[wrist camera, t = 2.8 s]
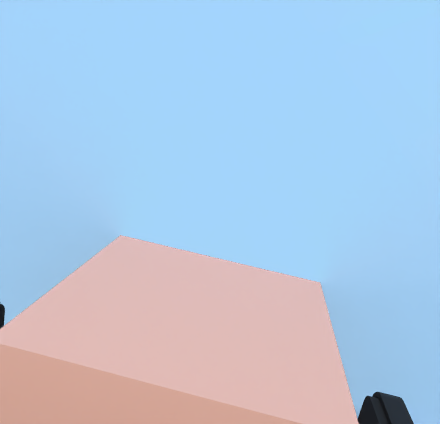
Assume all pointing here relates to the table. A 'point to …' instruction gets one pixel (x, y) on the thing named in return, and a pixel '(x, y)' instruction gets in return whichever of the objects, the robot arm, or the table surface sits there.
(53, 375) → the terracotta cube
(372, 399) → the robot arm
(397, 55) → the table surface
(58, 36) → the table surface
